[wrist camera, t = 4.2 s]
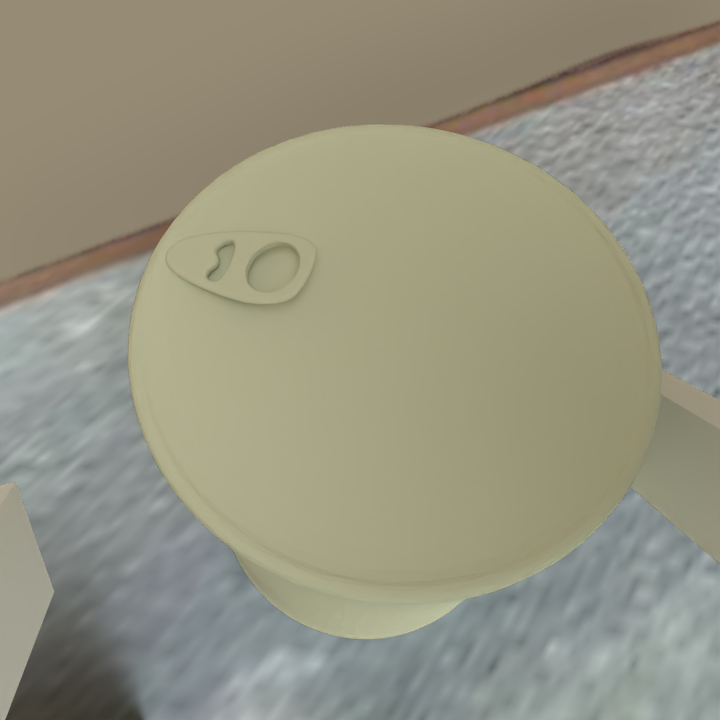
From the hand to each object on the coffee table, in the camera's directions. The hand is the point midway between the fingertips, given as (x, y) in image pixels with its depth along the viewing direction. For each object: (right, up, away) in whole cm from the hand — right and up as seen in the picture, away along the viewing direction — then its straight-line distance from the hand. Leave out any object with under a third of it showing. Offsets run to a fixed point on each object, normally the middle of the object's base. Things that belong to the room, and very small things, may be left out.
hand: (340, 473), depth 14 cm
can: (+1, -2, +7) cm, 8 cm away
